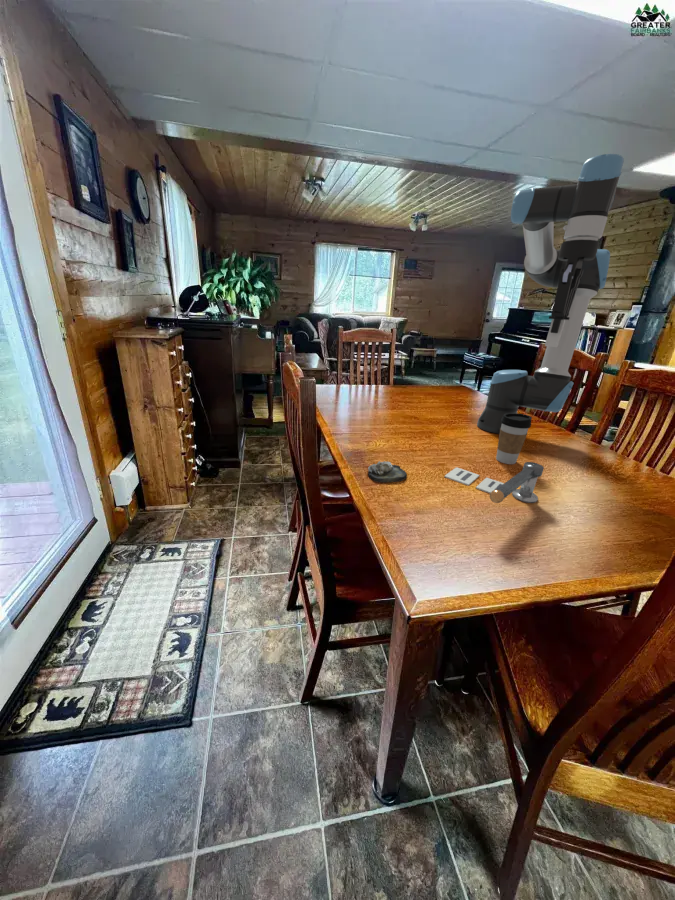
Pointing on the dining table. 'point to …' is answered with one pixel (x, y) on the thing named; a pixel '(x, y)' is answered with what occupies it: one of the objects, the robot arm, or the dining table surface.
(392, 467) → the dark grey lumpy mound
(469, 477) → the label
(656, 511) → the dining table surface
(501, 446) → the coffee cup
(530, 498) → the post
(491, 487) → the label
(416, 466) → the dining table surface
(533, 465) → the swing arm
